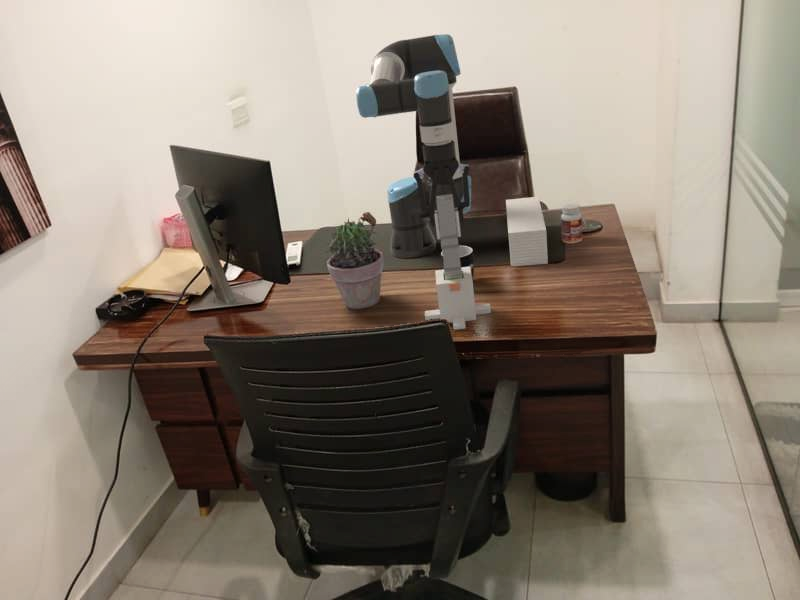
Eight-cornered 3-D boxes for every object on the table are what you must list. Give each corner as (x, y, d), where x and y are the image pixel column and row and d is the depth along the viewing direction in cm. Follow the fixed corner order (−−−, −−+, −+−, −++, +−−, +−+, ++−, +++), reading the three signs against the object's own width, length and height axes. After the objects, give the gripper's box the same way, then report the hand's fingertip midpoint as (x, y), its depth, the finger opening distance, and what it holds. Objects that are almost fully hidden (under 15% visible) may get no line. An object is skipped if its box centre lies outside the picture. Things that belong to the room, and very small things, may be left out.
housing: (425, 303, 182) (420, 266, 178) (487, 296, 181) (484, 258, 176) (425, 332, 167) (420, 293, 162) (493, 325, 166) (490, 284, 161)
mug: (474, 290, 186) (470, 256, 181) (442, 291, 188) (438, 258, 184) (478, 273, 196) (475, 240, 192) (448, 274, 198) (444, 242, 194)
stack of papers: (508, 230, 226) (505, 199, 221) (540, 227, 224) (538, 196, 220) (511, 267, 197) (508, 233, 193) (547, 264, 195) (546, 229, 191)
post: (446, 285, 173) (435, 196, 163) (462, 283, 173) (452, 193, 163) (446, 292, 169) (435, 201, 159) (463, 290, 169) (453, 199, 159)
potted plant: (313, 310, 188) (295, 227, 178) (361, 284, 201) (346, 204, 191) (358, 324, 177) (342, 235, 166) (406, 294, 189) (393, 210, 179)
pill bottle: (572, 245, 205) (571, 210, 200) (557, 241, 210) (556, 207, 205) (586, 239, 208) (585, 204, 203) (571, 235, 213) (570, 201, 208)
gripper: (400, 150, 153) (413, 245, 162) (476, 140, 151) (485, 236, 161) (401, 143, 159) (414, 235, 169) (474, 133, 158) (482, 226, 168)
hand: (448, 235), depth 165 cm, fingers closed on post, 4 cm apart
